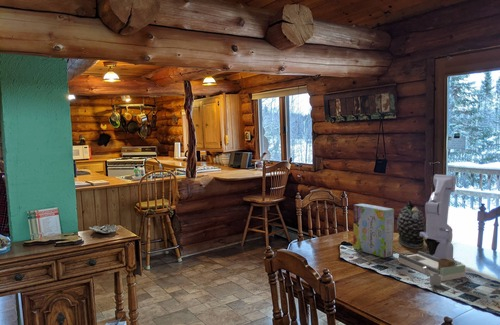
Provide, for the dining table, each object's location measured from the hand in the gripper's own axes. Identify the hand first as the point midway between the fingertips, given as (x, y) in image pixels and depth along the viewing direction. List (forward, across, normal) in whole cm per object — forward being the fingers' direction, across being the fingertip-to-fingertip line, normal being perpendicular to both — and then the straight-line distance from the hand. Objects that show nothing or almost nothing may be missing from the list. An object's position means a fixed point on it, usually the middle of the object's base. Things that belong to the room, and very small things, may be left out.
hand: (432, 254), depth 192 cm
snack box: (+8, -33, -9) cm, 35 cm away
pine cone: (+8, -36, +20) cm, 42 cm away
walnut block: (+5, +9, 0) cm, 10 cm away
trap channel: (+8, -1, 0) cm, 8 cm away
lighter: (+8, +14, -14) cm, 21 cm away
